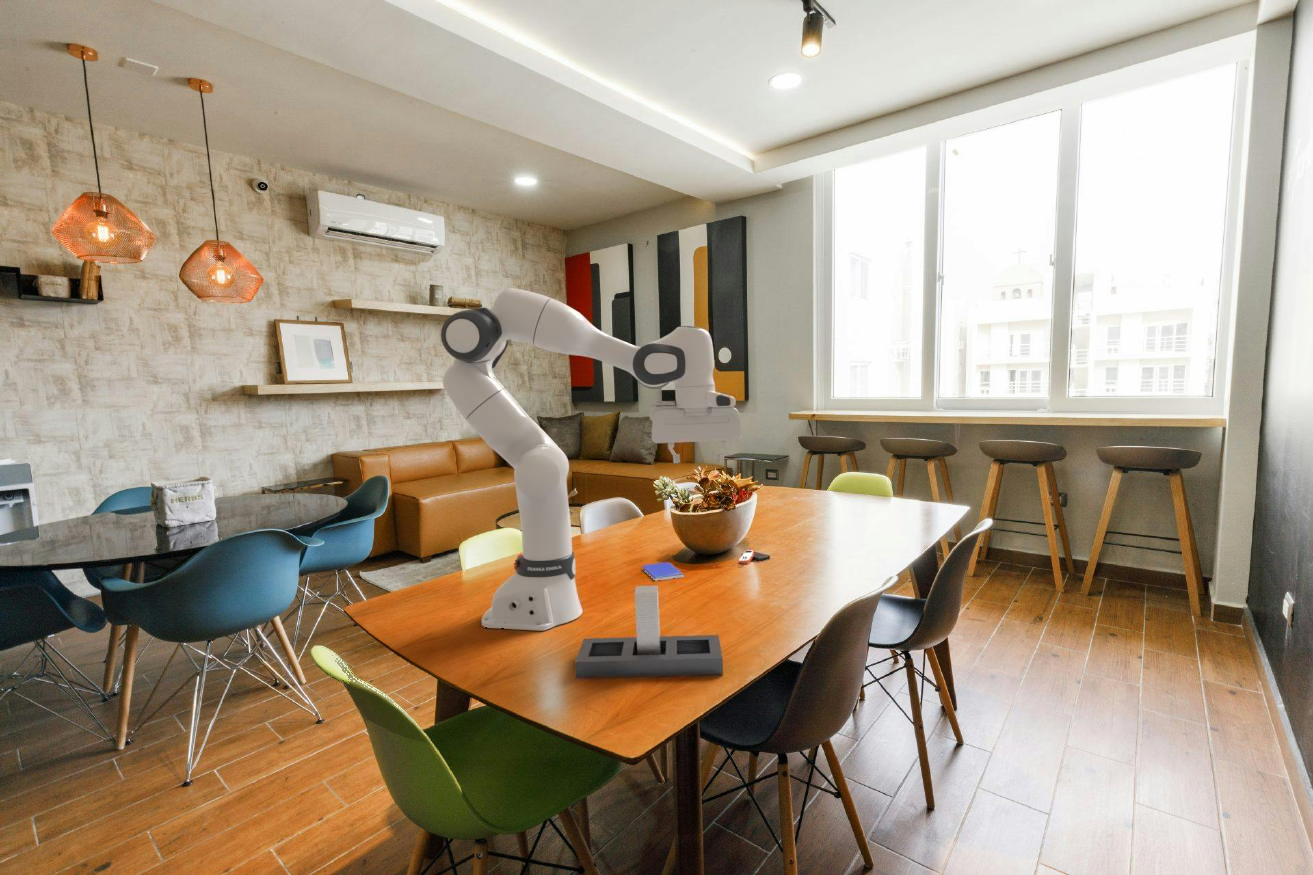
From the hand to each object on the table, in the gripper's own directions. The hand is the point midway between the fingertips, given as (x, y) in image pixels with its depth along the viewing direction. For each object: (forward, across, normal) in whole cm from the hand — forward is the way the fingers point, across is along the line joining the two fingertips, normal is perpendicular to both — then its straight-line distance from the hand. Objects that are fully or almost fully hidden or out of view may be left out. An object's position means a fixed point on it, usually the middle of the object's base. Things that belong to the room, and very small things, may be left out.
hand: (697, 461), depth 132 cm
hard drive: (+35, -10, +30) cm, 47 cm away
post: (+34, -11, -26) cm, 44 cm away
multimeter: (+35, +13, +36) cm, 52 cm away
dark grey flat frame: (+34, -11, -26) cm, 44 cm away
